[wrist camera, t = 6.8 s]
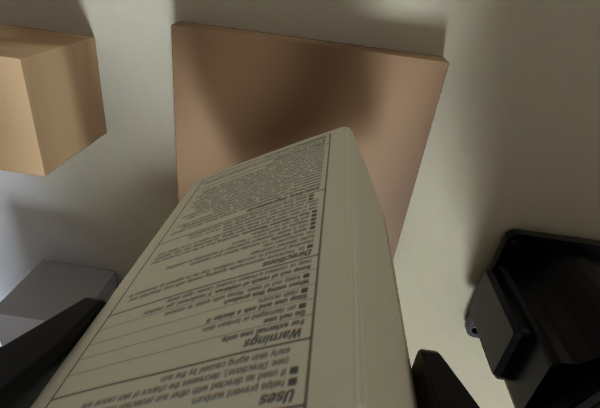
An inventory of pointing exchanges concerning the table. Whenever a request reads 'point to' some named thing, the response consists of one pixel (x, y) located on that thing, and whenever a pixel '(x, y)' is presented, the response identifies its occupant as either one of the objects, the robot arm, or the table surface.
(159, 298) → the skincare box
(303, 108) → the walnut board
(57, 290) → the gray cube
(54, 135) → the oak block
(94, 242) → the table surface
